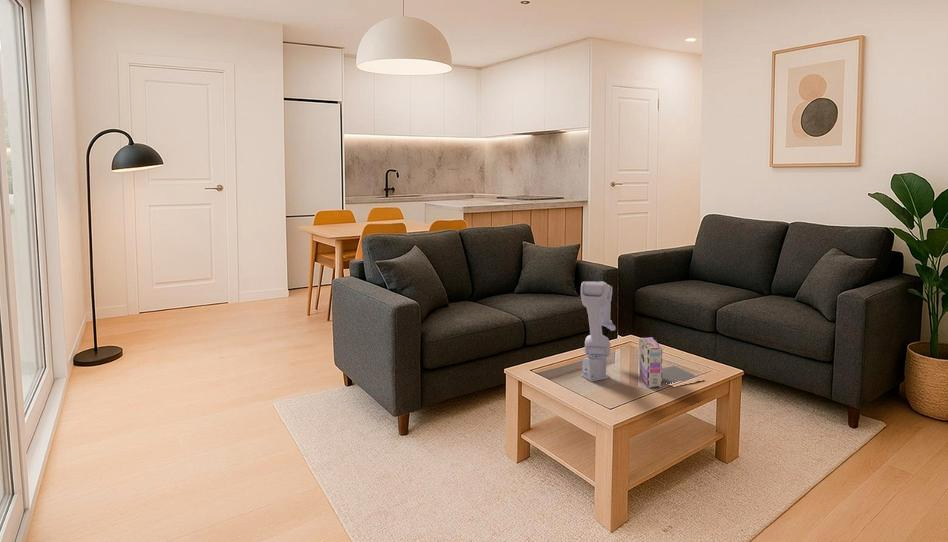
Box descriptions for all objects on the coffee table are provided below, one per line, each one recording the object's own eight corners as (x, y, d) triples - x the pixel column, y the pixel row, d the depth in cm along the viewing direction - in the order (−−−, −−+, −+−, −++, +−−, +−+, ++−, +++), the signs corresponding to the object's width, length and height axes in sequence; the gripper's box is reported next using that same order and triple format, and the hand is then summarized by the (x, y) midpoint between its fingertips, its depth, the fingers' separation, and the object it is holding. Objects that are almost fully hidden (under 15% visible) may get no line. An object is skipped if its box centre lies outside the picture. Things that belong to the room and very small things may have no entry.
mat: (673, 387, 237) (673, 386, 237) (644, 372, 253) (644, 371, 253) (705, 380, 243) (705, 379, 243) (674, 366, 259) (674, 365, 259)
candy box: (662, 387, 237) (662, 347, 233) (647, 388, 237) (647, 348, 233) (653, 374, 250) (653, 336, 247) (638, 374, 250) (638, 337, 247)
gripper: (621, 314, 254) (621, 345, 257) (601, 306, 267) (601, 335, 270) (607, 317, 251) (607, 348, 254) (588, 308, 264) (587, 338, 267)
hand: (603, 342), depth 262 cm, fingers closed
